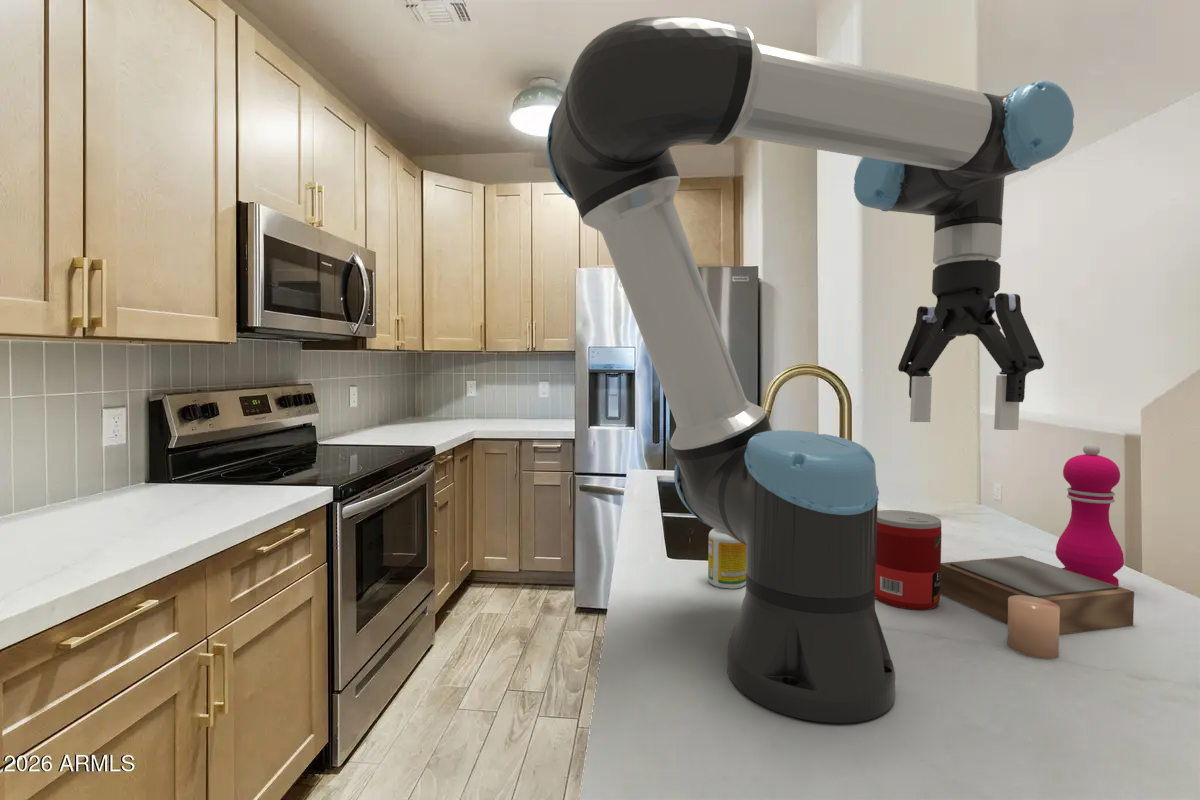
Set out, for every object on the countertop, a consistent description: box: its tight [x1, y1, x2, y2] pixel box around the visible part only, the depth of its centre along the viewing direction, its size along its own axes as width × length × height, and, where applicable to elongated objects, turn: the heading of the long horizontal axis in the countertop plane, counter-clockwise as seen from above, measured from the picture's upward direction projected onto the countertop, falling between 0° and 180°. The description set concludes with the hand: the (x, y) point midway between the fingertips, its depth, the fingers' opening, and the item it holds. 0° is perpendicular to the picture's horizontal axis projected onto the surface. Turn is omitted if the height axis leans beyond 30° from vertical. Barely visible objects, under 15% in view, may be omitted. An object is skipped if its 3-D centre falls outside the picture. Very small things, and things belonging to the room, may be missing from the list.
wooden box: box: [940, 555, 1135, 636], centre depth 72 cm, size 14×14×4 cm
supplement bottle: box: [707, 528, 746, 590], centre depth 81 cm, size 5×5×10 cm
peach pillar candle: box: [1006, 595, 1060, 660], centre depth 61 cm, size 4×4×5 cm
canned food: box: [875, 509, 942, 611], centre depth 75 cm, size 8×8×11 cm
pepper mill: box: [1055, 443, 1125, 587], centre depth 79 cm, size 7×7×20 cm
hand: (959, 425), depth 76 cm, fingers open, 13 cm apart
